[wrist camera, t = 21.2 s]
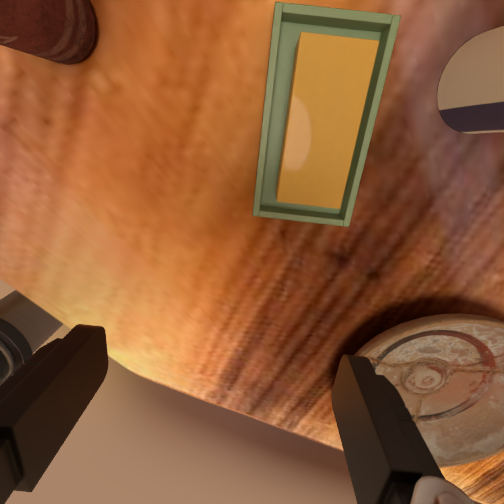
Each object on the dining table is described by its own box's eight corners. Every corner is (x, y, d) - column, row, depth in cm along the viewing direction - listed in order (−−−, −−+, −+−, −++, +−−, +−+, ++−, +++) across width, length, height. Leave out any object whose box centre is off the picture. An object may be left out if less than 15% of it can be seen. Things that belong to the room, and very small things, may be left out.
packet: (295, 46, 24) (300, 31, 20) (362, 54, 24) (380, 40, 20) (275, 192, 28) (276, 201, 25) (331, 198, 28) (340, 209, 25)
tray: (253, 209, 30) (252, 216, 27) (274, 13, 23) (275, 1, 21) (342, 219, 30) (348, 227, 27) (388, 26, 23) (401, 15, 21)
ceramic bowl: (396, 262, 31) (419, 285, 27) (568, 339, 34) (615, 372, 29) (297, 400, 40) (301, 435, 35) (440, 452, 43) (460, 491, 38)
